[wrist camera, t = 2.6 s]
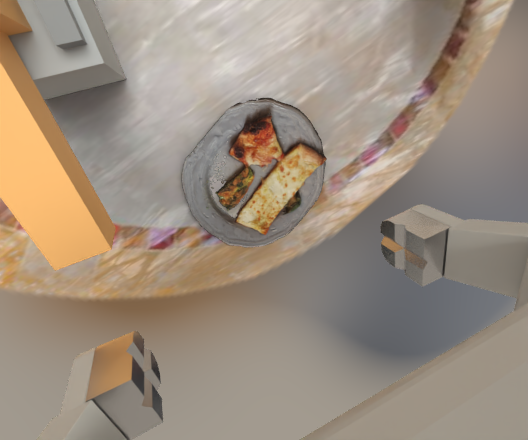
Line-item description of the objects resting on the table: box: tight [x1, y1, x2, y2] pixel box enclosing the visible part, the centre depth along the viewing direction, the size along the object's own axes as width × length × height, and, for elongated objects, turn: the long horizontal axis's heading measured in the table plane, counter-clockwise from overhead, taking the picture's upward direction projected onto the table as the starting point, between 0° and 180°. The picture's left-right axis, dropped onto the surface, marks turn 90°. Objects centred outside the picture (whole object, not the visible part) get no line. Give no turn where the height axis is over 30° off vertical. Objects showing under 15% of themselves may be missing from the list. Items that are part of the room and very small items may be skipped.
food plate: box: [182, 98, 326, 247], centre depth 49 cm, size 25×23×4 cm
